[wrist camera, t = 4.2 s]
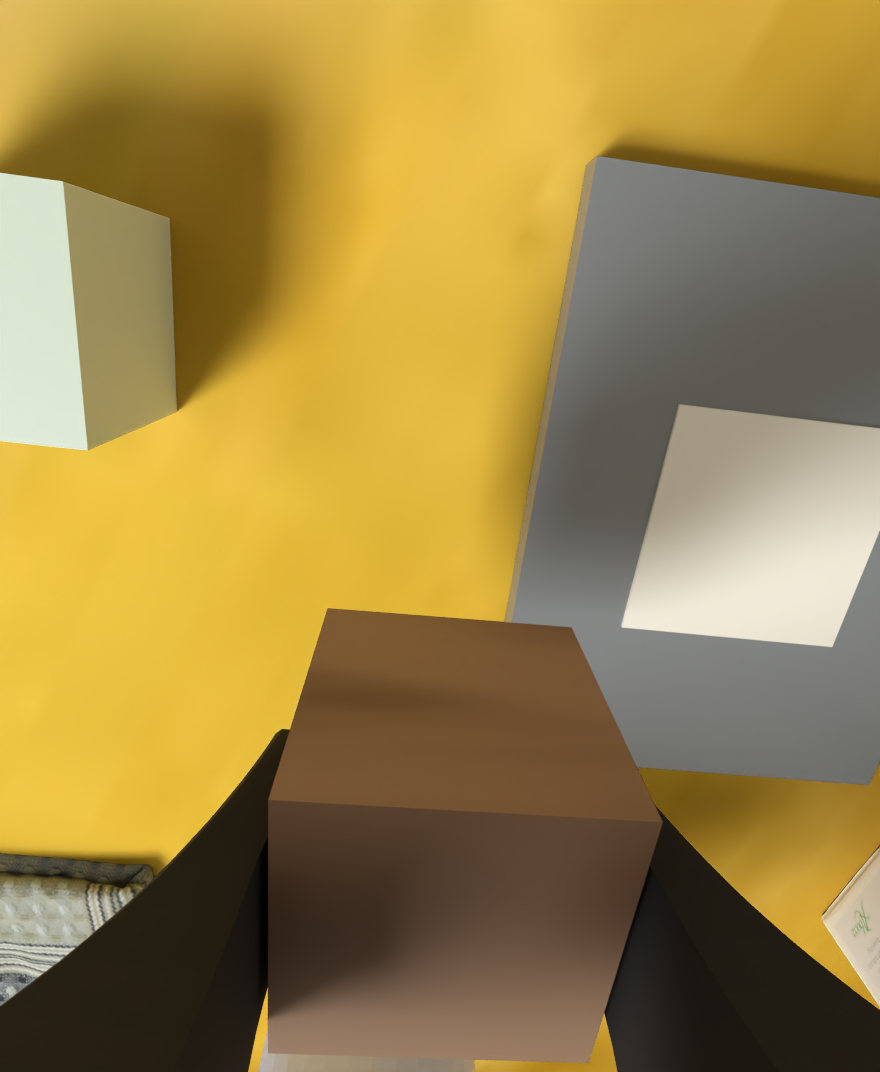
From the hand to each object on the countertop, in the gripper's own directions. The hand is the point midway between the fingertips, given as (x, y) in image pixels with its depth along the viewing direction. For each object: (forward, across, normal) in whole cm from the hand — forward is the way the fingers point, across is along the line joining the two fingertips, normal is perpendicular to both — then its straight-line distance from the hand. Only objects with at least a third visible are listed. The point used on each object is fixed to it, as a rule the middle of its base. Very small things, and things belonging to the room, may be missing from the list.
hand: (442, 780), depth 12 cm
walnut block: (+2, 0, 0) cm, 2 cm away
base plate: (+8, -10, -3) cm, 13 cm away
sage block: (+9, +10, -7) cm, 15 cm away
